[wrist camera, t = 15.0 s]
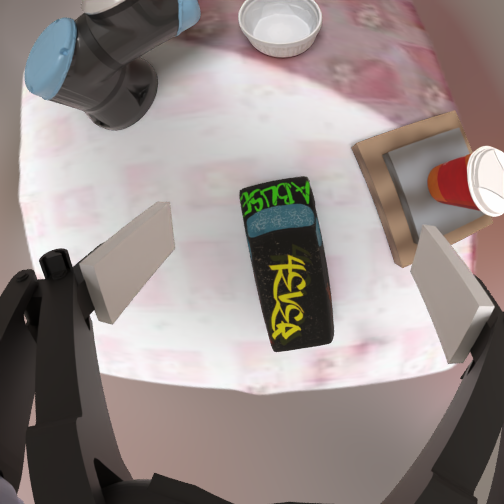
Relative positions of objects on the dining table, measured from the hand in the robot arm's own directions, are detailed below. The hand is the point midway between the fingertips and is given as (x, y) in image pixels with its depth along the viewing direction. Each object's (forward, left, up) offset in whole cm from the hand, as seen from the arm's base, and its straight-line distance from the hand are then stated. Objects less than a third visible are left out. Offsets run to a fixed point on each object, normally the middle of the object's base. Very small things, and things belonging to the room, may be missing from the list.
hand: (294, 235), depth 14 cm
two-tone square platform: (+4, +23, -32) cm, 39 cm away
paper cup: (+4, +22, -25) cm, 34 cm away
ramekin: (-30, +12, -32) cm, 46 cm away
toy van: (+7, -3, -32) cm, 33 cm away
